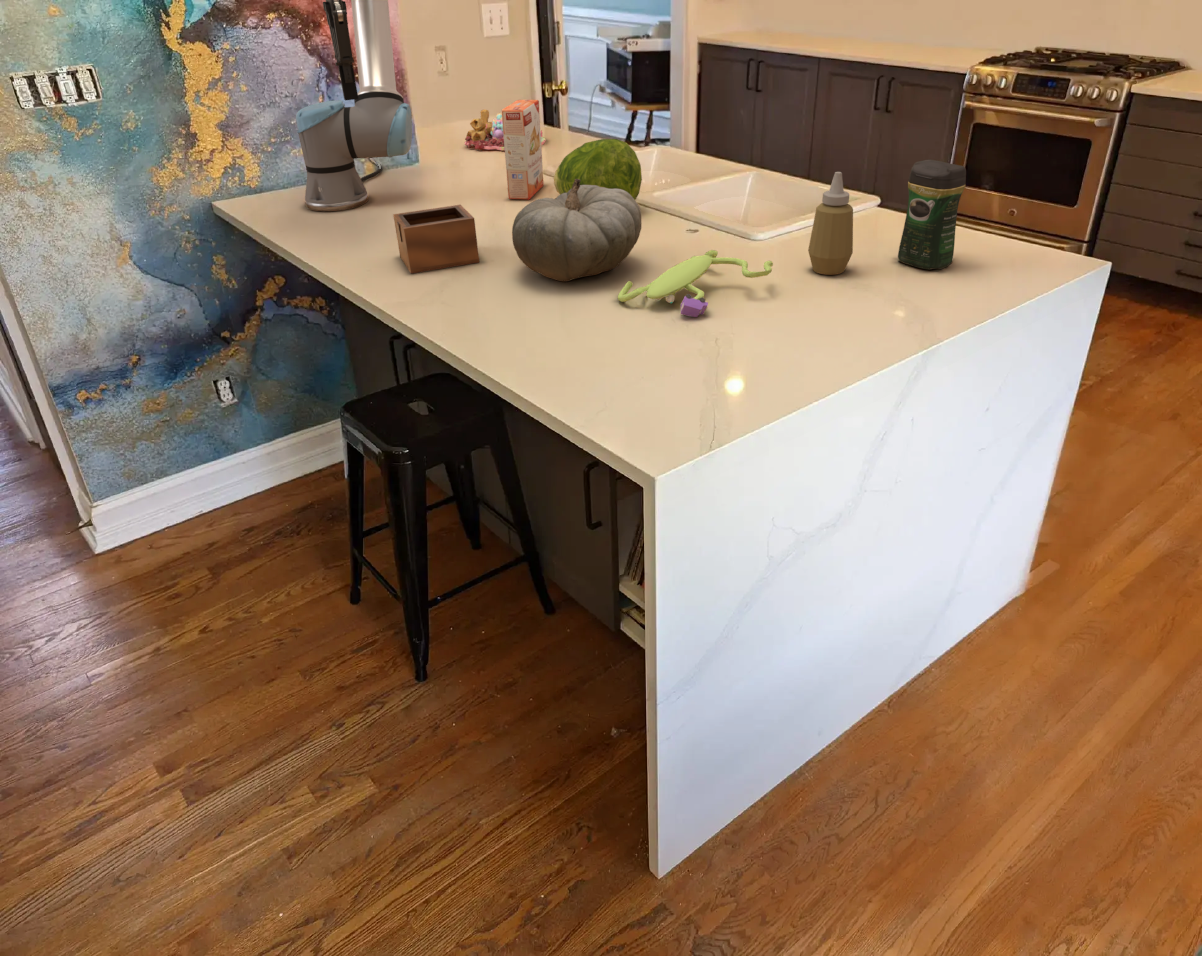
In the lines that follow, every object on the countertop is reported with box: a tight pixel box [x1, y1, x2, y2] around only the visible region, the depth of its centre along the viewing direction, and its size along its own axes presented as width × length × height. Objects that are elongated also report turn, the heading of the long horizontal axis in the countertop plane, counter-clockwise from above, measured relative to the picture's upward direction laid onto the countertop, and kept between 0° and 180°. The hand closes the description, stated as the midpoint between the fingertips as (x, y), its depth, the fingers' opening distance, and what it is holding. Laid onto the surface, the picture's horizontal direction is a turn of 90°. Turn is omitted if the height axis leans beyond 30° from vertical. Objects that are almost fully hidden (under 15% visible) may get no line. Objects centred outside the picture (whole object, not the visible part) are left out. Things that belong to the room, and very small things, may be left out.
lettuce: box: [553, 138, 643, 201], centre depth 204 cm, size 17×23×16 cm
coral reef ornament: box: [464, 109, 546, 151], centre depth 271 cm, size 25×24×9 cm
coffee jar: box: [897, 159, 967, 270], centre depth 163 cm, size 10×8×19 cm
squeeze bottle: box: [807, 171, 854, 276], centre depth 162 cm, size 8×8×18 cm
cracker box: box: [501, 99, 545, 201], centre depth 217 cm, size 14×6×21 cm, turn 168°
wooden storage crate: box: [392, 204, 480, 275], centre depth 179 cm, size 9×14×11 cm
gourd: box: [511, 179, 642, 282], centre depth 169 cm, size 25×25×17 cm
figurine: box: [617, 249, 774, 318], centre depth 158 cm, size 18×27×6 cm
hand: (351, 99), depth 182 cm, fingers closed
